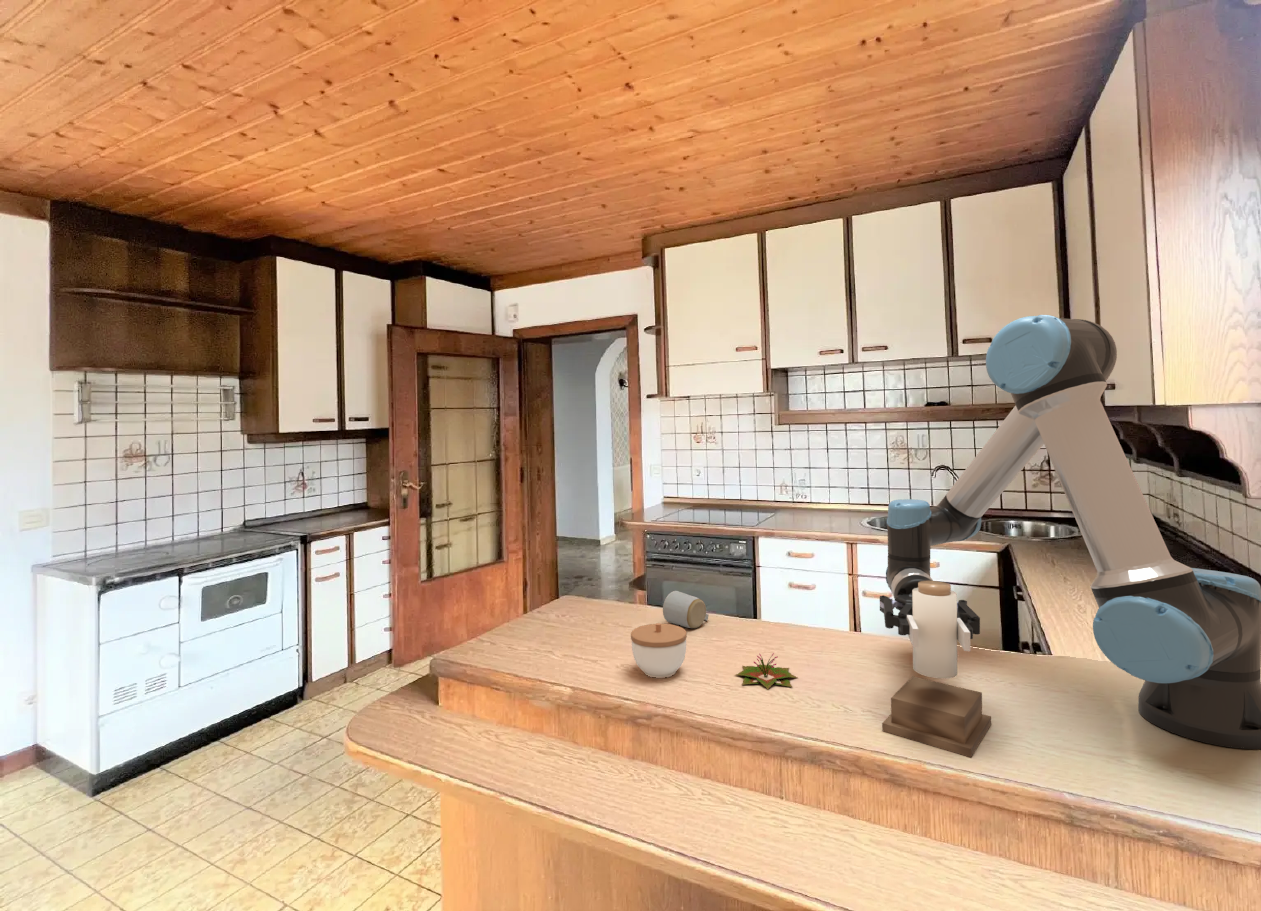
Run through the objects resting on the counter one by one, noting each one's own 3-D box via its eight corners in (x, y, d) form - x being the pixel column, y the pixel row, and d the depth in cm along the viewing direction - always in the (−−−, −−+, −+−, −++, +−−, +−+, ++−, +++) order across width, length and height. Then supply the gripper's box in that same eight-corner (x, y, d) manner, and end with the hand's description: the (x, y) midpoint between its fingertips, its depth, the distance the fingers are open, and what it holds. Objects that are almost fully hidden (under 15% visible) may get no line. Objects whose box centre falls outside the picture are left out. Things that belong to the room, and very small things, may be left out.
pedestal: (991, 724, 93) (990, 691, 93) (971, 757, 84) (970, 721, 84) (908, 702, 101) (908, 672, 101) (882, 730, 92) (881, 698, 92)
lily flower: (734, 665, 120) (733, 643, 120) (797, 668, 118) (796, 644, 118) (732, 691, 109) (731, 666, 108) (802, 694, 106) (801, 669, 106)
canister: (961, 668, 93) (961, 582, 92) (951, 681, 88) (951, 591, 88) (919, 660, 97) (918, 577, 96) (907, 671, 92) (907, 585, 91)
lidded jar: (658, 688, 110) (656, 637, 109) (620, 671, 118) (619, 624, 118) (699, 671, 117) (697, 623, 116) (661, 657, 125) (660, 611, 125)
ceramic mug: (689, 633, 139) (688, 599, 138) (662, 626, 144) (661, 593, 144) (717, 622, 146) (716, 590, 146) (690, 615, 152) (689, 585, 152)
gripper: (975, 618, 106) (1017, 671, 84) (860, 612, 112) (870, 659, 90) (975, 576, 106) (1017, 618, 84) (859, 571, 112) (869, 609, 90)
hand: (941, 639), depth 87 cm, fingers closed on canister, 6 cm apart
